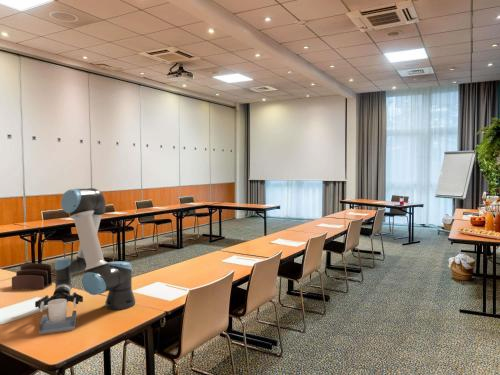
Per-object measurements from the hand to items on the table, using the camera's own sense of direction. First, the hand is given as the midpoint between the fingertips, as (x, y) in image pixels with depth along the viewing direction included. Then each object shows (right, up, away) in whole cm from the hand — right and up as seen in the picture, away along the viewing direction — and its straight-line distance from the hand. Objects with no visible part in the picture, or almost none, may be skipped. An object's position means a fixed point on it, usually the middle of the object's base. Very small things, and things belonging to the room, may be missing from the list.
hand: (57, 307), depth 173 cm
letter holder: (-48, -8, +64) cm, 81 cm away
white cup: (-1, -8, +2) cm, 8 cm away
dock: (-1, -10, +2) cm, 10 cm away
